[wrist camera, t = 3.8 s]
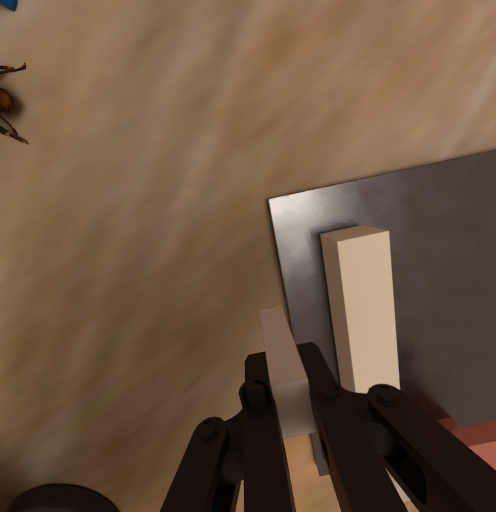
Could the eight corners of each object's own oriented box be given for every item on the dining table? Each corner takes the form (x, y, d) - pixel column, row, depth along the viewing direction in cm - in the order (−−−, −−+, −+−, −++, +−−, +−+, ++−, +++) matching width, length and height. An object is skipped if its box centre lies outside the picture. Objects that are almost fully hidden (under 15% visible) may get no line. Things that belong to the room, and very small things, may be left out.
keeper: (410, 445, 30) (467, 526, 22) (406, 380, 27) (468, 446, 20) (451, 436, 30) (521, 515, 22) (451, 371, 27) (528, 434, 20)
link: (391, 434, 28) (439, 508, 22) (340, 444, 29) (372, 521, 22) (373, 222, 23) (432, 233, 16) (309, 236, 23) (340, 253, 16)
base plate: (315, 463, 32) (319, 476, 30) (266, 199, 24) (268, 199, 22) (545, 416, 31) (560, 427, 30) (576, 132, 23) (598, 128, 22)
